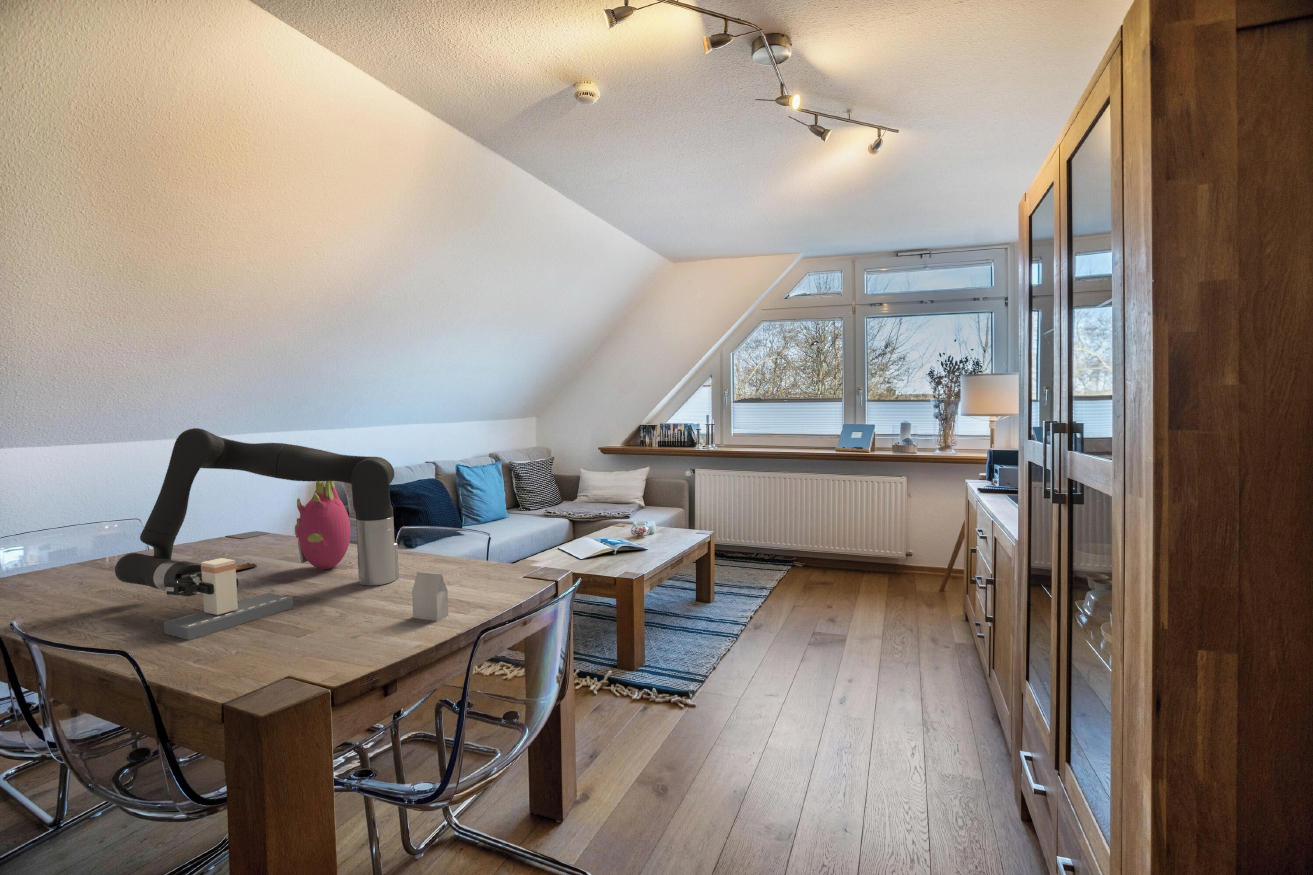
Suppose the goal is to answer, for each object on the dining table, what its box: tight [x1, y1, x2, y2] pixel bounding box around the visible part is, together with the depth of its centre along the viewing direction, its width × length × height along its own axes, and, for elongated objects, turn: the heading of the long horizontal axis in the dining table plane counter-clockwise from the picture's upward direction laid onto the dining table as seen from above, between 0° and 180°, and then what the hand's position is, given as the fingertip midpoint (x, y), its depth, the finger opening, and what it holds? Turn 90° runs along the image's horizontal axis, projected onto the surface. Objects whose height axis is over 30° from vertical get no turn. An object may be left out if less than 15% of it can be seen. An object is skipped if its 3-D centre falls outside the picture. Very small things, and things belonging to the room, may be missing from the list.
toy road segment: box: [163, 592, 294, 641], centre depth 152 cm, size 23×9×3 cm, turn 152°
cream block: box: [200, 557, 238, 615], centre depth 149 cm, size 4×5×11 cm
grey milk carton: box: [411, 571, 449, 622], centre depth 152 cm, size 4×7×10 cm, turn 68°
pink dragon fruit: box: [294, 481, 352, 570], centre depth 195 cm, size 18×14×30 cm
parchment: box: [236, 562, 257, 572], centre depth 192 cm, size 25×10×1 cm, turn 145°
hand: (224, 586), depth 149 cm, fingers closed on cream block, 4 cm apart
